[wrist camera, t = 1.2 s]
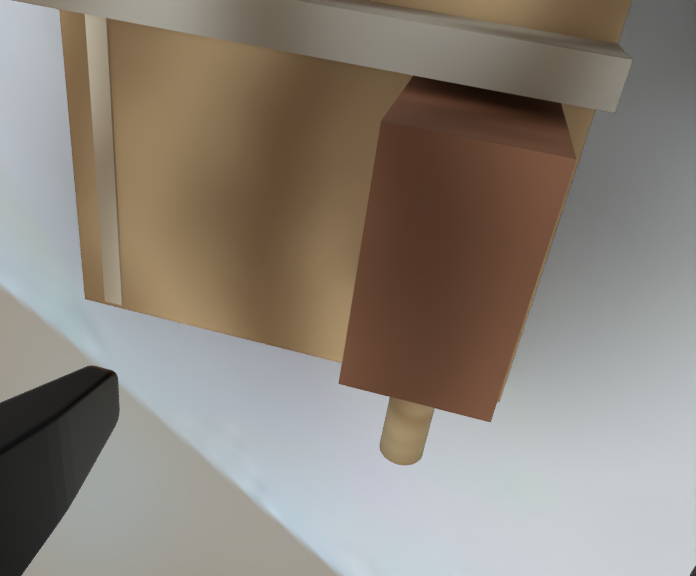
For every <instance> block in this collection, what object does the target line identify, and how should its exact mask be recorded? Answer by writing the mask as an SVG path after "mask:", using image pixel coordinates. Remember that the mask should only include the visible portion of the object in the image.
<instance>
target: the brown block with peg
mask: <svg viewBox="0 0 696 576" xmlns="http://www.w3.org/2000/svg"><path fill="white" fill-rule="evenodd" d="M576 160H577V159H576V155H575V152H574V148H573V145H572V141H571V137H570V134H569V130H568V126H567V123H566V119H565V115H564V112H563V108H562V105H561V103H558V102H552V101H547V100H542V99H536V98H531V97H526V96H520V95H515V94H510V93H504V92H499V91H494V90H488V89H483V88H478V87H472V86H467V85H462V84H456V83H451V82H446V81H440V80H435V79H430V78H424V77H419V76H414V75H413V77H412V78H411V80H410V81H409V82H408V84H407V85H406V87H405V88H404V89H403V91H402V92H401V94H400V95H399V96H398V98H397V99H396V101H395V102H394V103H393V105H392V106H391V108H390V109H389V110H388V112H387V113H386V115H385V116H384V117H383V119H382V120H381V124H380V130H379V137H378V143H377V149H376V155H375V161H374V168H373V174H372V180H371V186H370V192H369V199H368V205H367V211H366V217H365V223H364V230H363V236H362V242H361V248H360V255H359V261H358V267H357V273H356V279H355V286H354V292H353V298H352V304H351V310H350V317H349V323H348V329H347V335H346V341H345V348H344V354H343V360H342V366H341V372H340V379H339V384H342V385H346V386H349V387H353V388H357V389H361V390H365V391H369V392H373V393H377V394H381V395H385V396H389V397H390V399H389V404H388V408H387V413H386V418H385V422H384V427H383V431H382V436H381V441H380V451H381V453H382V454H383V456H384V457H385V458H387V459H388V460H389V461H391V462H393V463H396V464H399V465H411V464H414V463H416V462H418V461H419V460H420V459H421V457H422V454H423V450H424V446H425V442H426V439H427V435H428V431H429V427H430V423H431V420H432V416H433V412H434V408H436V409H440V410H444V411H448V412H452V413H456V414H460V415H464V416H468V417H472V418H476V419H480V420H484V421H488V422H491V419H492V416H493V413H494V410H495V407H496V404H497V401H498V398H499V395H500V392H501V388H502V385H503V382H504V379H505V376H506V373H507V370H508V367H509V364H510V361H511V358H512V355H513V352H514V349H515V346H516V343H517V340H518V337H519V334H520V331H521V327H522V324H523V321H524V318H525V315H526V312H527V309H528V306H529V303H530V300H531V297H532V294H533V291H534V288H535V285H536V282H537V279H538V276H539V273H540V269H541V266H542V263H543V260H544V257H545V254H546V251H547V248H548V245H549V242H550V239H551V236H552V233H553V230H554V227H555V224H556V221H557V218H558V215H559V212H560V208H561V205H562V202H563V199H564V196H565V193H566V190H567V187H568V184H569V181H570V178H571V175H572V172H573V169H574V166H575V163H576Z"/></svg>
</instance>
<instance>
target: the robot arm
mask: <svg viewBox="0 0 696 576" xmlns="http://www.w3.org/2000/svg"><path fill="white" fill-rule="evenodd" d="M119 410H120V409H119V388H118V377H117V375H116V373H115V372H114V371H112V370H108V369H105V368H101V367H97V366H87V367H84V368H82V369H80V370H77V371H75V372H73V373H70V374H68V375H65V376H63V377H60V378H58V379H56V380H53V381H51V382H49V383H46V384H44V385H41V386H39V387H37V388H34V389H32V390H30V391H27V392H25V393H22V394H20V395H17V396H15V397H13V398H10V399H8V400H5V401H3V402H1V403H0V576H21V575H22V574H23V572H24V571H25V570H26V568H27V567H28V565H29V564H30V563H31V561H32V560H33V558H34V557H35V556H36V554H37V553H38V551H39V550H40V549H41V547H42V546H43V544H44V543H45V542H46V540H47V539H48V537H49V536H50V535H51V533H52V532H53V530H54V529H55V527H56V526H57V524H58V523H59V522H60V520H61V519H62V517H63V516H64V514H65V513H66V512H67V510H68V509H69V507H70V505H71V503H72V502H73V500H74V499H75V497H76V495H77V493H78V491H79V489H80V488H81V486H82V485H83V483H84V481H85V479H86V477H87V476H88V474H89V472H90V470H91V468H92V467H93V465H94V463H95V461H96V460H97V458H98V456H99V454H100V453H101V450H102V449H103V447H104V445H105V443H106V442H107V440H108V438H109V436H110V435H111V433H112V431H113V429H114V428H115V425H116V423H117V421H118V417H119ZM690 576H696V566H695V567H694V569H693V570H692V572H691V574H690Z"/></svg>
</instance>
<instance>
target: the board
mask: <svg viewBox="0 0 696 576" xmlns="http://www.w3.org/2000/svg"><path fill="white" fill-rule="evenodd" d="M13 1H18V2H24V3H29V4H34V5H40V6H45V7H50V8H56V9H59V10H60V21H61V33H62V44H63V55H64V66H65V78H66V89H67V100H68V112H69V123H70V134H71V146H72V157H73V168H74V180H75V191H76V202H77V213H78V225H79V236H80V247H81V259H82V270H83V281H84V293H85V299H87V300H91V301H95V302H99V303H103V304H107V305H111V306H115V307H119V308H123V309H127V310H131V311H135V312H139V313H143V314H147V315H151V316H155V317H159V318H163V319H167V320H171V321H175V322H179V323H183V324H187V325H191V326H195V327H199V328H203V329H207V330H211V331H216V332H220V333H224V334H228V335H232V336H236V337H240V338H244V339H248V340H252V341H256V342H260V343H264V344H268V345H272V346H276V347H280V348H284V349H288V350H292V351H296V352H300V353H304V354H308V355H312V356H316V357H320V358H324V359H328V360H332V361H336V362H340V363H342V360H343V354H344V348H345V341H346V335H347V329H348V323H349V317H350V310H351V304H352V298H353V292H354V286H355V279H356V273H357V267H358V261H359V255H360V248H361V242H362V236H363V230H364V223H365V217H366V211H367V205H368V199H369V192H370V186H371V180H372V174H373V168H374V161H375V155H376V149H377V143H378V137H379V130H380V124H381V120H382V119H383V117H384V116H385V115H386V113H387V112H388V110H389V109H390V108H391V106H392V105H393V103H394V102H395V101H396V99H397V98H398V96H399V95H400V94H401V92H402V91H403V89H404V88H405V87H406V85H407V84H408V82H409V81H410V80H411V78H412V77H413V75H414V76H419V77H424V78H430V79H435V80H440V81H446V82H451V83H456V84H462V85H467V86H472V87H478V88H483V89H488V90H494V91H499V92H504V93H510V94H515V95H520V96H526V97H531V98H536V99H542V100H547V101H552V102H558V103H561V105H562V108H563V112H564V115H565V119H566V123H567V126H568V130H569V134H570V137H571V141H572V145H573V148H574V152H575V155H576V159H577V160H576V163H575V166H574V169H573V172H572V175H571V178H570V181H569V184H568V187H567V190H566V193H565V196H564V199H563V202H562V205H561V208H560V212H559V215H558V218H557V221H556V224H555V227H554V230H553V233H552V236H551V239H550V242H549V245H548V248H547V251H546V254H545V257H544V260H543V263H542V266H541V269H540V273H539V276H538V279H537V282H536V285H535V288H534V291H533V294H532V297H531V300H530V303H529V306H528V309H527V312H526V315H525V318H524V321H523V324H522V327H521V331H520V334H519V337H518V340H517V343H516V346H515V349H514V352H513V355H512V358H511V361H510V364H509V367H508V370H507V373H506V376H505V379H504V382H503V385H502V388H501V392H500V395H499V398H498V401H497V402H500V399H501V396H502V393H503V390H504V387H505V384H506V381H507V377H508V374H509V371H510V368H511V365H512V362H513V359H514V356H515V353H516V350H517V347H518V344H519V341H520V338H521V335H522V332H523V329H524V326H525V323H526V320H527V317H528V314H529V311H530V308H531V305H532V302H533V299H534V296H535V293H536V290H537V287H538V284H539V281H540V278H541V275H542V271H543V268H544V265H545V262H546V259H547V256H548V253H549V250H550V247H551V244H552V241H553V238H554V235H555V232H556V229H557V226H558V223H559V220H560V217H561V214H562V211H563V208H564V205H565V202H566V199H567V196H568V193H569V190H570V187H571V184H572V181H573V178H574V175H575V172H576V169H577V165H578V162H579V159H580V156H581V153H582V150H583V147H584V144H585V141H586V138H587V135H588V132H589V129H590V126H591V123H592V120H593V117H594V114H595V111H596V110H601V111H606V112H611V113H615V111H616V108H617V105H618V102H619V99H620V96H621V93H622V90H623V87H624V85H625V82H626V79H627V76H628V73H629V70H630V67H631V64H632V61H633V60H632V59H631V58H630V56H629V55H628V54H627V53H626V52H625V51H624V50H623V49H622V48H621V47H620V46H619V45H618V41H619V38H620V35H621V32H622V29H623V26H624V23H625V20H626V17H627V14H628V11H629V8H630V5H631V2H632V0H13Z"/></svg>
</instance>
